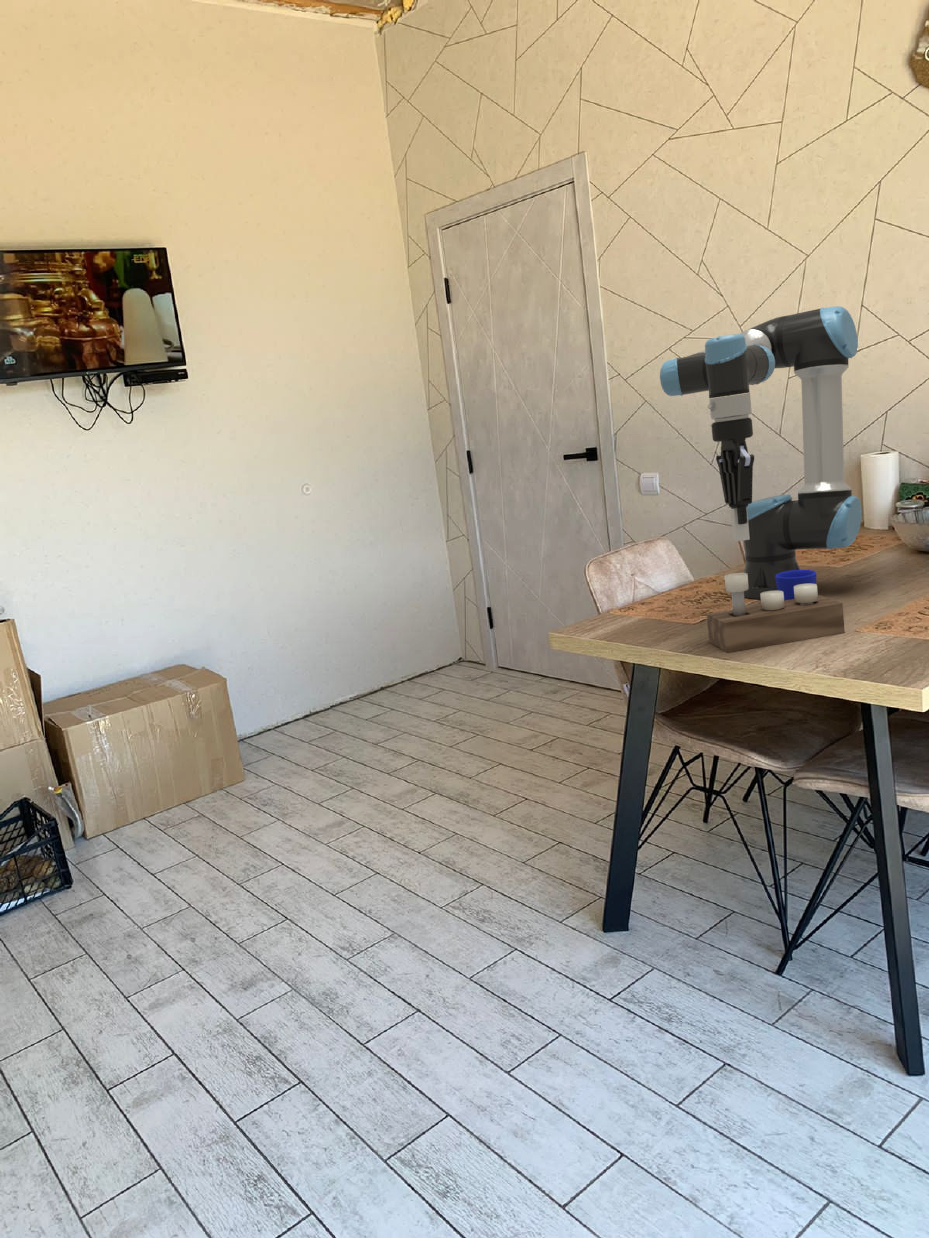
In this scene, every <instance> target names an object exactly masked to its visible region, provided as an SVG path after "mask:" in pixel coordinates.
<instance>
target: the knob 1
mask: <svg viewBox="0 0 929 1238" xmlns="http://www.w3.org/2000/svg"><path fill="white" fill-rule="evenodd" d="M723 577H724V583H725V584H724V586H725V592H726V593H731V603H732V609H733V617H739V616H744V615H746V611H745V607H746V601H745V597H744V591H746V590H748V589H749V586H748V575H747V573H744V572H735V573H728V574H725V575H724V576H723Z"/></svg>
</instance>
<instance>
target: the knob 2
mask: <svg viewBox="0 0 929 1238" xmlns="http://www.w3.org/2000/svg"><path fill="white" fill-rule="evenodd" d="M760 596H761V599H760V605H761V607H762V609H763V610H767V611H774V610H780V609H782V608H784V607H785V605H784V593H783V591H766V592H762V593H761V594H760Z"/></svg>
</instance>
